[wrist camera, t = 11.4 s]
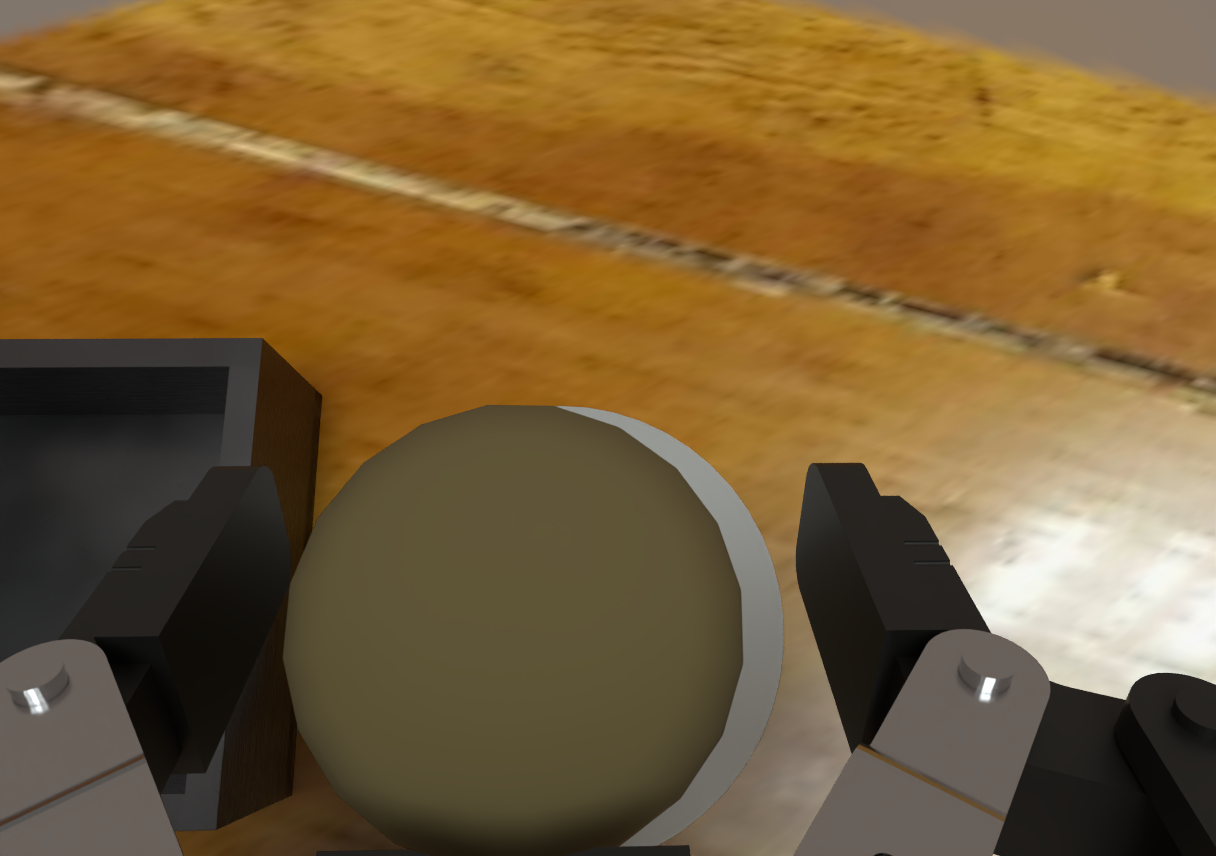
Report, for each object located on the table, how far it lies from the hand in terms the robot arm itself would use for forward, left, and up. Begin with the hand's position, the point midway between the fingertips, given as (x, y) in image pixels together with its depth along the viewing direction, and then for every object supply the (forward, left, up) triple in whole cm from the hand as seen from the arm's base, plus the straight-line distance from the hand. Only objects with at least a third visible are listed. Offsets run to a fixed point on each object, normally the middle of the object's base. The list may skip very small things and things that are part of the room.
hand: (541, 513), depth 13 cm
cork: (0, -2, -7) cm, 7 cm away
